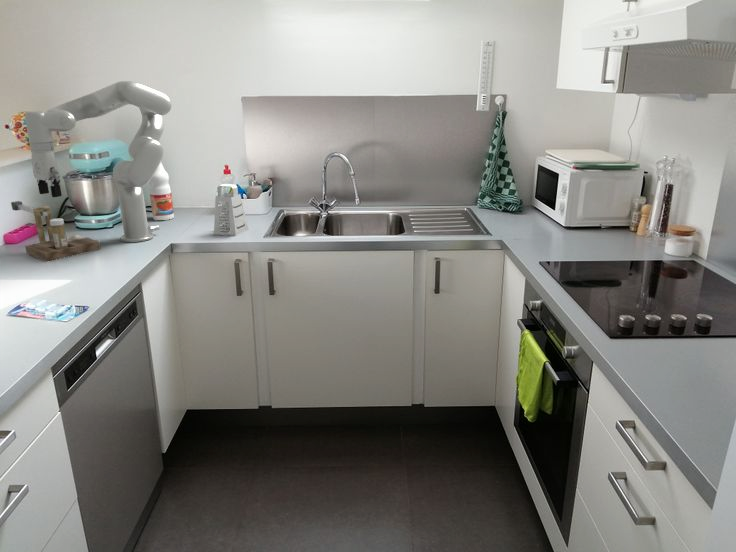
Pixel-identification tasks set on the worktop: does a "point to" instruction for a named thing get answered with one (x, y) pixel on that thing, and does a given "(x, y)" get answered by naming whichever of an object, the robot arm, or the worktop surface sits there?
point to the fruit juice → (161, 195)
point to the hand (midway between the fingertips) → (50, 195)
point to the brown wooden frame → (47, 248)
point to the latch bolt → (25, 208)
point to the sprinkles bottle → (59, 233)
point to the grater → (229, 212)
